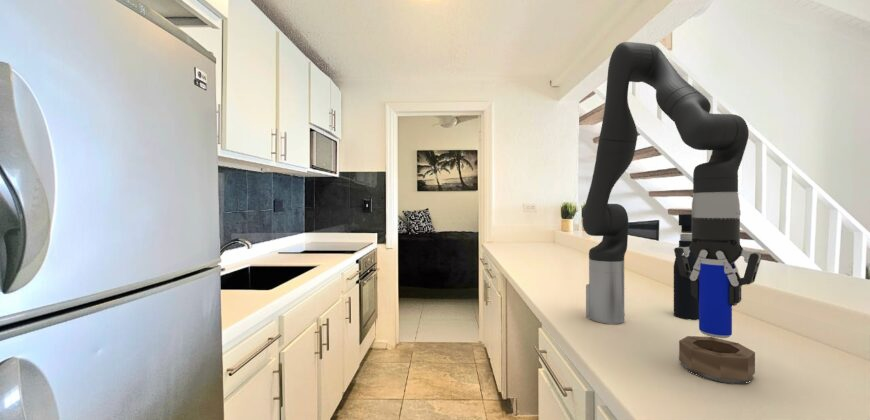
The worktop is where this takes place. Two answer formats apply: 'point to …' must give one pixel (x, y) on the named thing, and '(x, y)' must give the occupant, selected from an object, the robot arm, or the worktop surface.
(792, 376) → the worktop surface
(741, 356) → the collar
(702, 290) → the beverage can
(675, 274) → the wine bottle
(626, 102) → the robot arm
